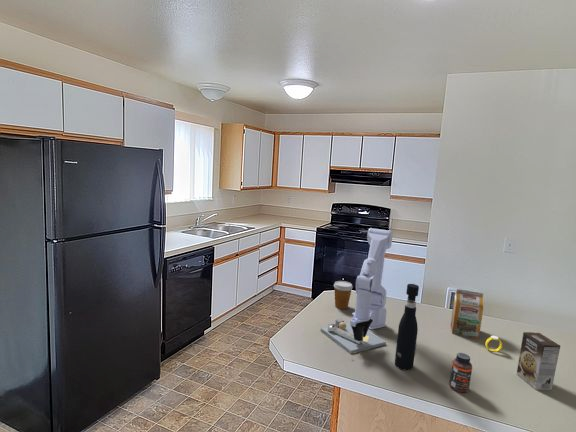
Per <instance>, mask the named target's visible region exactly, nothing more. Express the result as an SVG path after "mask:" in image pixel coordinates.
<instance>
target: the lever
mask: <svg viewBox="0 0 576 432" xmlns="http://www.w3.org/2000/svg"><path fill="white" fill-rule="evenodd" d="M327 327H328V329H327V330H328V331H329V332H334V333H336V334H338V335H340V336H343V337H345V338H347V339H349V340H351V341H354V342H356V343H358V344H360V343H362V342H363V335H364V330H363V331H362V334H361V339H360V341H357V340H355V339H354V335H353V334H351V333H349V332H346V331H344V330H342V329H339V328H337V325H335V324H333V323H330V324H328V325H327Z"/></svg>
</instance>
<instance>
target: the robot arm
mask: <svg viewBox="0 0 576 432" xmlns="http://www.w3.org/2000/svg"><path fill="white" fill-rule="evenodd" d="M393 236H394V235H393V231H392V230H391V229H389V230H386V229H379V228H372V227H370V228H368V230H367V235H366V240H367V242H368V245H369V250H368V254H367V258H366V259H364V261H363V264H362V266H361V270H360V273H359V275H357V277H356V279H355V294H356V295H355V296H356V297H355V310H354V312H352V313H351V315H352V319H350V321H349V322H350V325H351V327H352V330H353V334H354V339H355V340H357V341H360V339H361V334H362V331H363V330H364V335H363V337H365V336H366V334H367V331H369V330H376V329H379V328H384V327H387V324H386V321H387V319H386V318H387V308H386V303H387V289H386V288H385V287H384V286H382V281H383V280H382V279H383V272H384V263H385V255H386V252H387V250H389V249H391V247H392V243H393Z"/></svg>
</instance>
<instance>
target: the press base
mask: <svg viewBox="0 0 576 432" xmlns="http://www.w3.org/2000/svg"><path fill="white" fill-rule="evenodd" d="M334 325H337V328H339V329H342V330H344V331H346V332H349V333H351V334H353V330H352V327H351V325H350V321H349V322H348V321H347V322H345V320H344V319H342V318H339V319H336V320H335V324H334ZM327 329H328V326H324V327H320V332H322V333H323V334H324V335H326V336H327V337H328V338H329V339H331V340H332V341H333V342H334V343H336V344H337V345H338V346H340V347H341V348H342V349H343V350H345V351H346V352H347V353H348V354H350V355H351V354H355V353H359V352H363V351H367V350H370V349H374V348H378V347H382V346H386V344H387V340H384V339H383V338H382V337H380V336H377V335H376V334H374V333H373V332H371V331H370V330H368V331H367V334H366V336H365V337H363V342H362V343H360V344H358V343H356V342H354V341H351V340H349V339H347V338H345V337H343V336H340V335H338V334H336V333H334V332H329V331H328V330H327ZM353 335H354V334H353Z"/></svg>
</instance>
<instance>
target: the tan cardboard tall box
mask: <svg viewBox="0 0 576 432" xmlns="http://www.w3.org/2000/svg"><path fill="white" fill-rule="evenodd" d="M452 304H453V305H452V311H451V319H450V329H451V334H453V335H458V336H463V337H467V338H471V339H478V340H479V339H480V332H481V327H482V319H483V312H484V293H483V292H479V291H474V290H467V289H461V288H456V290H455V293H454V298H453V303H452Z"/></svg>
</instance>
